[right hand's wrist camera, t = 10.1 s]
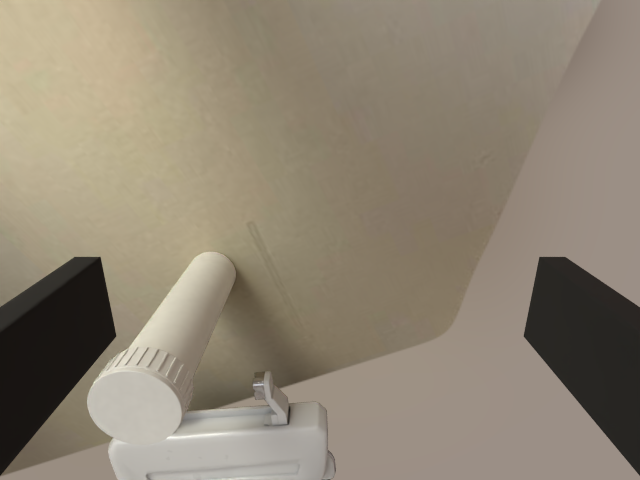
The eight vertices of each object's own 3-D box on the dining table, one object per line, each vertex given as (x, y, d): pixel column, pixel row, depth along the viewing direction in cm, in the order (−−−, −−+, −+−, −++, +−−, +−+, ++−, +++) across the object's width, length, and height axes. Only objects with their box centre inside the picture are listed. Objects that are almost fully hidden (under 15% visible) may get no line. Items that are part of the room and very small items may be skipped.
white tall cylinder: (198, 297, 41) (117, 439, 24) (183, 256, 39) (84, 380, 23) (242, 288, 40) (188, 426, 24) (227, 246, 39) (160, 364, 22)
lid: (126, 423, 26) (109, 453, 24) (90, 355, 24) (69, 380, 22) (206, 408, 26) (196, 436, 24) (176, 337, 24) (162, 361, 22)
